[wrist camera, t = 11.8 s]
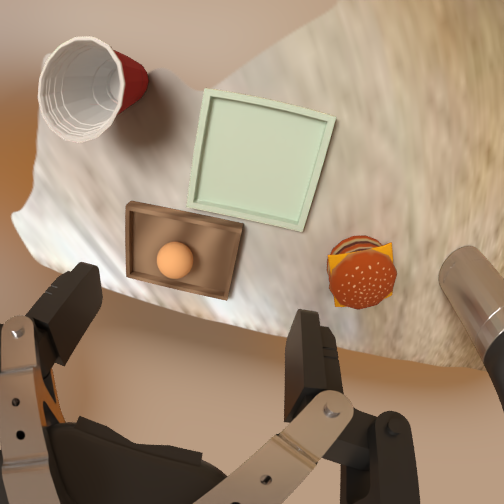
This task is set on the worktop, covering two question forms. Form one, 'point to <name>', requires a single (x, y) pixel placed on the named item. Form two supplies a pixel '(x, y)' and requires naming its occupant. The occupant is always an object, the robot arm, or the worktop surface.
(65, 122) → the plastic cup
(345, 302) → the hamburger
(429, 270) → the worktop surface
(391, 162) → the worktop surface
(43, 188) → the worktop surface
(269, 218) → the dish
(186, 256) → the ball
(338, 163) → the worktop surface
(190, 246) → the tray
